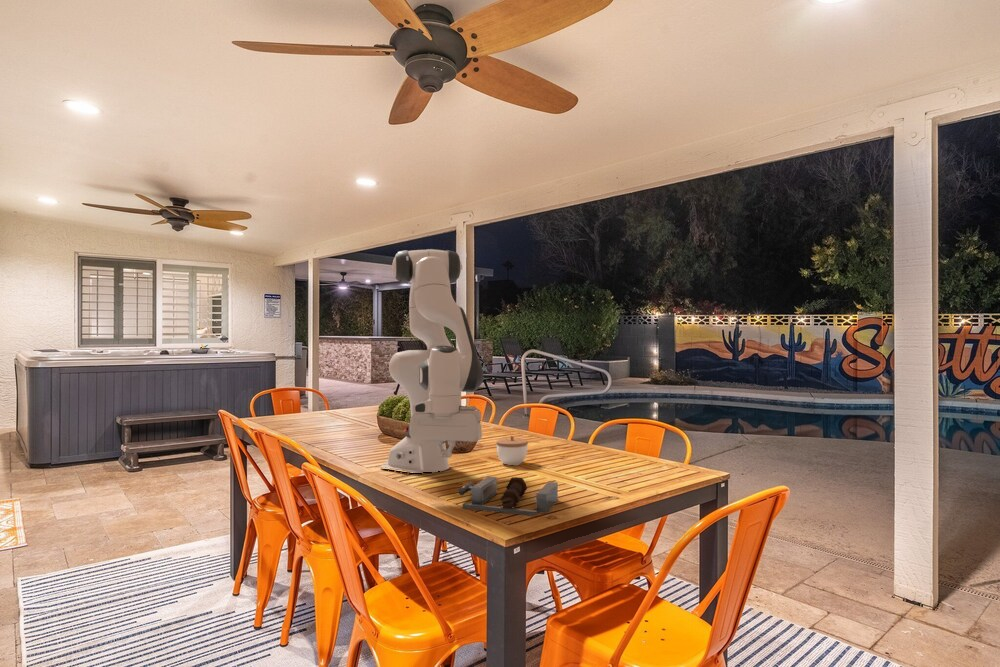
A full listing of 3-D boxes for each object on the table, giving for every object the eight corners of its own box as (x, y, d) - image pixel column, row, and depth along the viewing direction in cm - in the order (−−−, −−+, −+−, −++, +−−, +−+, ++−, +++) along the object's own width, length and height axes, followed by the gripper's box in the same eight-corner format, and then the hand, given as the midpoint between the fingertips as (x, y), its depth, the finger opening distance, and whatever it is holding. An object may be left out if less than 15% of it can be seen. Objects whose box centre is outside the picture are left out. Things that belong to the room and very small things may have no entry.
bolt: (504, 519, 139) (514, 500, 154) (521, 510, 138) (530, 491, 153) (492, 498, 140) (504, 481, 154) (510, 489, 139) (519, 472, 153)
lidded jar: (494, 466, 188) (494, 438, 188) (498, 459, 198) (498, 433, 198) (526, 467, 186) (526, 439, 187) (528, 460, 197) (528, 433, 197)
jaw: (454, 503, 145) (454, 485, 145) (471, 491, 156) (471, 475, 156) (482, 506, 143) (482, 488, 143) (497, 493, 154) (497, 477, 154)
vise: (462, 508, 141) (462, 489, 141) (483, 493, 155) (483, 476, 155) (543, 516, 134) (543, 497, 135) (557, 500, 148) (557, 482, 148)
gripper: (485, 405, 152) (485, 456, 152) (417, 403, 159) (417, 453, 158) (476, 407, 146) (477, 461, 146) (406, 405, 153) (406, 457, 152)
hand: (445, 457), depth 152 cm, fingers closed
